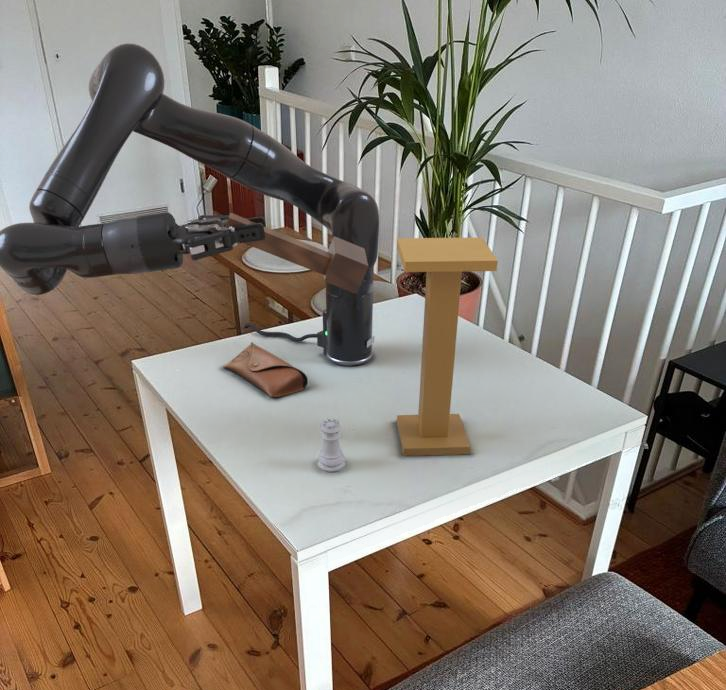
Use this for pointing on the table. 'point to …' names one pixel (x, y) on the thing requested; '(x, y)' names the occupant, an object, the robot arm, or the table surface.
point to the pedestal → (439, 340)
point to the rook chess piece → (331, 447)
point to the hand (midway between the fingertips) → (264, 227)
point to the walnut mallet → (314, 255)
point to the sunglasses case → (267, 372)
